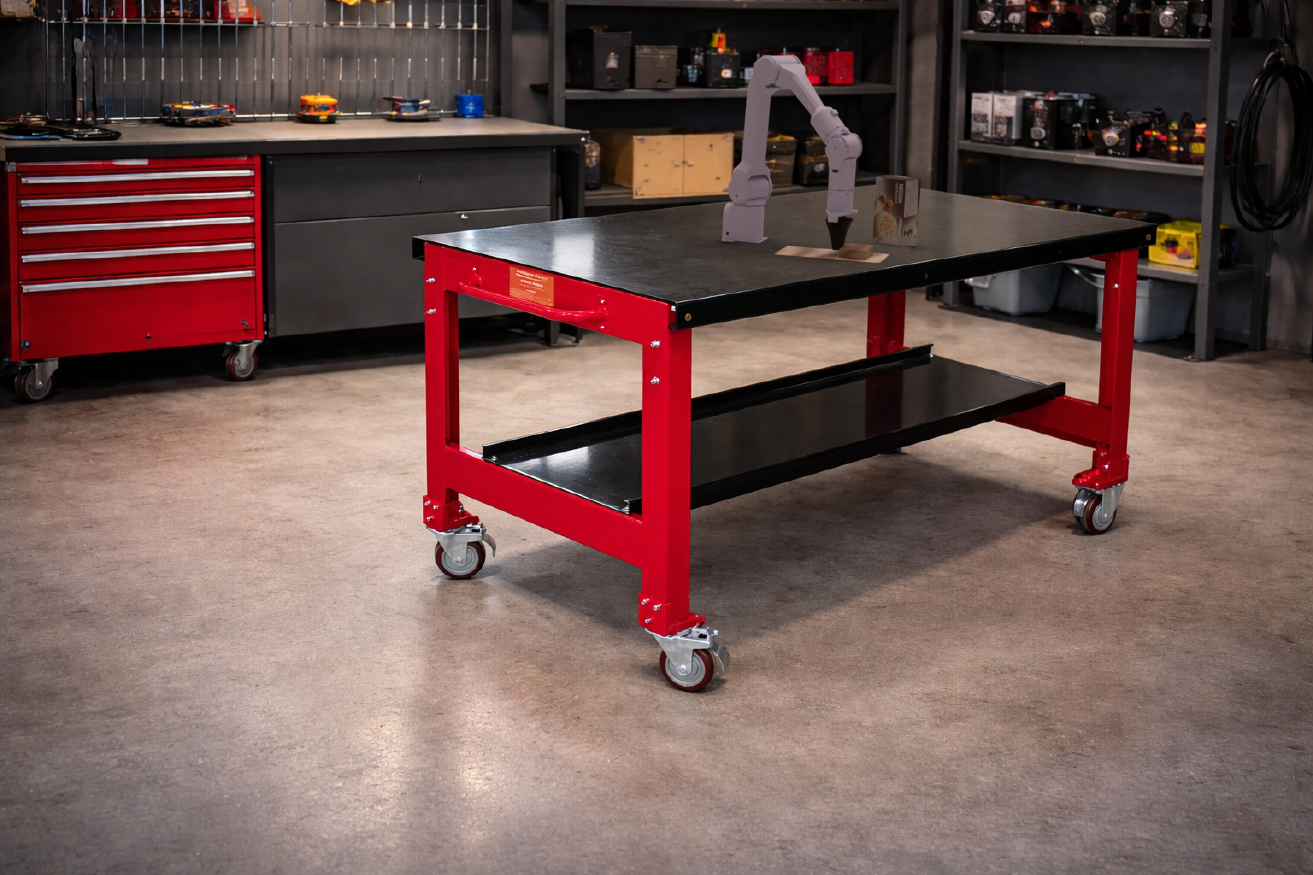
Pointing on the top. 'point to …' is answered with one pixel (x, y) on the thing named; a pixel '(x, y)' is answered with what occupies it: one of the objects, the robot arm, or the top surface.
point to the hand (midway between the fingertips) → (837, 250)
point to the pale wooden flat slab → (826, 254)
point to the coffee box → (896, 210)
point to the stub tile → (856, 251)
